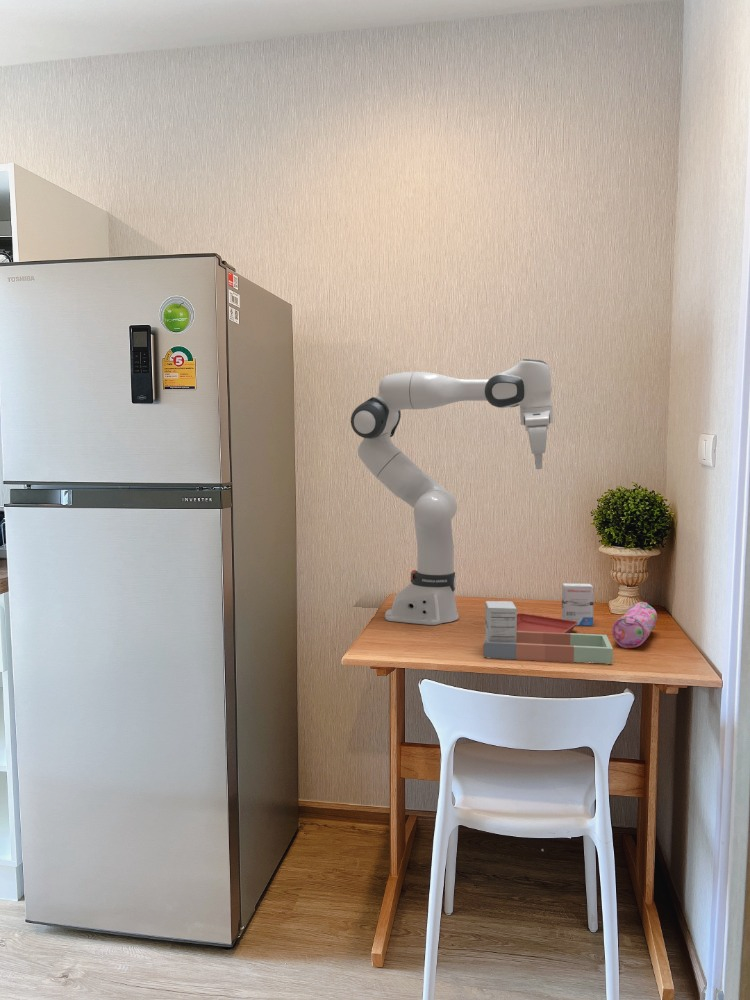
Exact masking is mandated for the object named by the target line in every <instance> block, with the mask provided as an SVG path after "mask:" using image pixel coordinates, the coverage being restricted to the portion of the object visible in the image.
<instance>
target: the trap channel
mask: <svg viewBox="0 0 750 1000" xmlns="http://www.w3.org/2000/svg"><path fill="white" fill-rule="evenodd" d="M607 635H608V634H600V633H599V634H594V633H575V632H573V633H572V632H570V633H555V632H532V631H517V634H516V643H509V642H488V641H485V640H484V641H483V658H484V657H490V658H489V659H491V658H503V659H502V660H511V659H518V660H517V661H530V660H534V661H533V662H535V661H537V662H550V661H557V662H556V663H559V662H558V661H561V662H560V663H569V662H591V663H592V662H593V663H612V664H613V658H614V657H613V655H614V653H613V652H614V650H613V649H614V648H613V647H612V644H611V642H610V639H609V638H608V636H607Z"/></svg>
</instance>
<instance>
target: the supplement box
mask: <svg viewBox="0 0 750 1000" xmlns="http://www.w3.org/2000/svg"><path fill="white" fill-rule="evenodd" d="M517 614H518V608H517V607H516V605H515V604H514V602H513V601H511V600H510V601H509V600H499V601H498V600H497V601H496V600H493V601H492V600H487V601H485V615H484V616H485V617H484V620H485V625H484V631H485V632H484V641H488V642H509V643H516V634H517Z"/></svg>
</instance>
